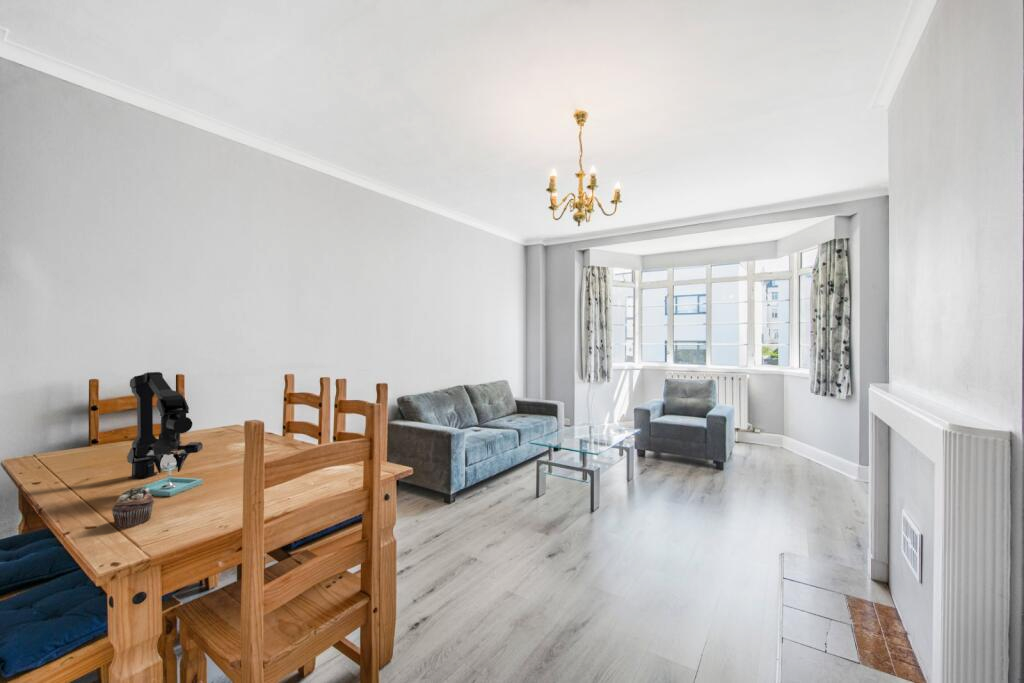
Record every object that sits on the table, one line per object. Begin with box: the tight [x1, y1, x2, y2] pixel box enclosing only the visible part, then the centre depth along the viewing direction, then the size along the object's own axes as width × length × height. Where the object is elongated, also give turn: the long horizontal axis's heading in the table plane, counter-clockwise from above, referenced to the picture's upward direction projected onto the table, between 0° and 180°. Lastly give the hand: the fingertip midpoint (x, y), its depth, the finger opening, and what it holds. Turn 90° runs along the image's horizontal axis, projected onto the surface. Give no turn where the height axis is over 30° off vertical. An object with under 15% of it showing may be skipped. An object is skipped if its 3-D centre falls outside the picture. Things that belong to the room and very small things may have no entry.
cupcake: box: [111, 487, 155, 528], centre depth 131 cm, size 10×10×10 cm
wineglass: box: [160, 451, 179, 488], centre depth 159 cm, size 6×6×12 cm
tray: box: [135, 476, 203, 498], centre depth 159 cm, size 14×14×2 cm
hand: (169, 472), depth 159 cm, fingers closed on wineglass, 5 cm apart
